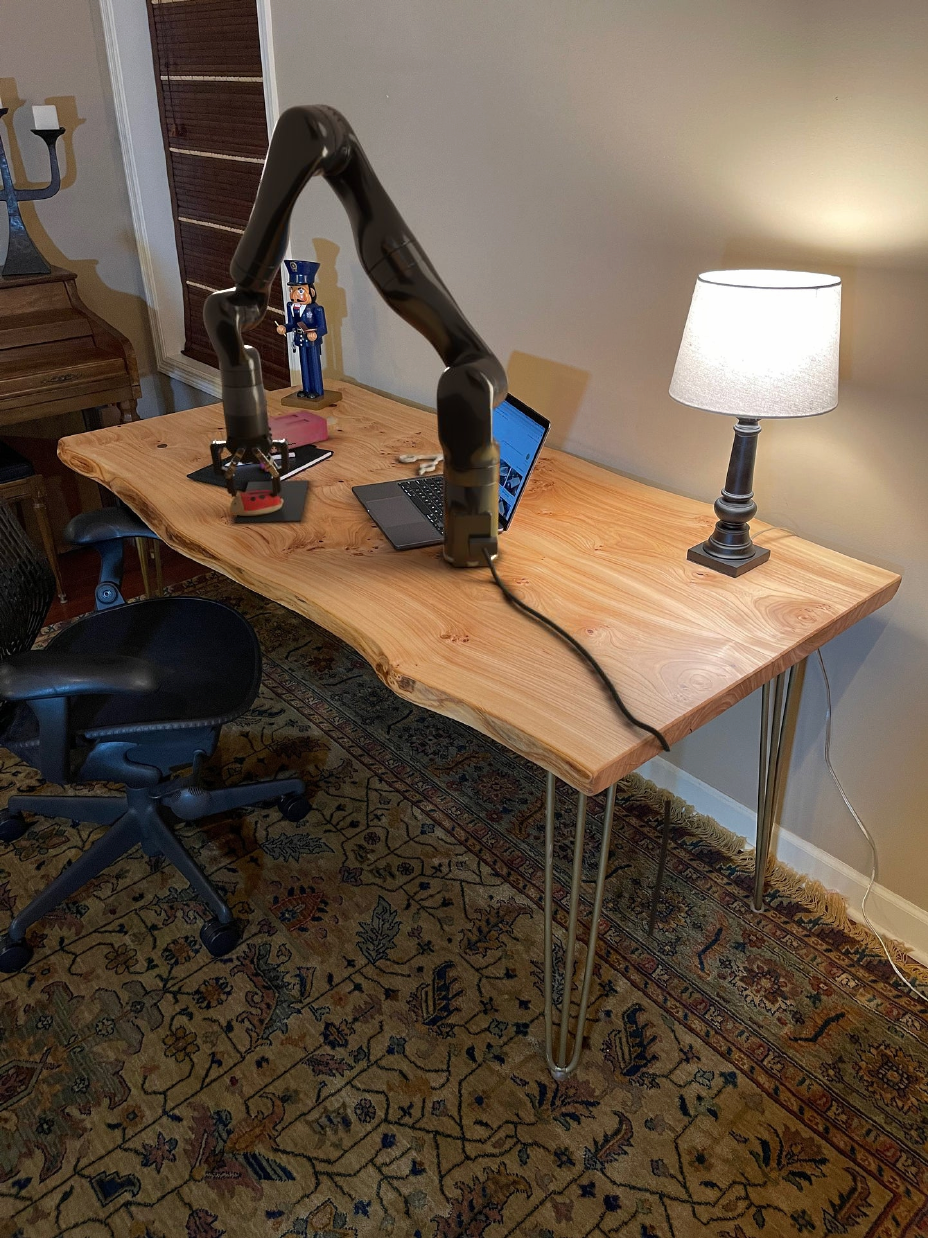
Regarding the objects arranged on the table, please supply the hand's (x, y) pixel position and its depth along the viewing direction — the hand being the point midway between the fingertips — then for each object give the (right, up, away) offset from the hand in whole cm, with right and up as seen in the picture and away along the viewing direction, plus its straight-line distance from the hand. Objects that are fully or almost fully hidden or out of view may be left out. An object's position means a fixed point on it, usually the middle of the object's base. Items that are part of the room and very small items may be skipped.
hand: (255, 494), depth 167 cm
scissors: (+34, +12, +28) cm, 46 cm away
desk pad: (+2, 0, +6) cm, 7 cm away
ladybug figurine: (0, -3, +2) cm, 3 cm away
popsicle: (+1, +18, +38) cm, 42 cm away
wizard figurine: (-3, +8, +21) cm, 22 cm away
